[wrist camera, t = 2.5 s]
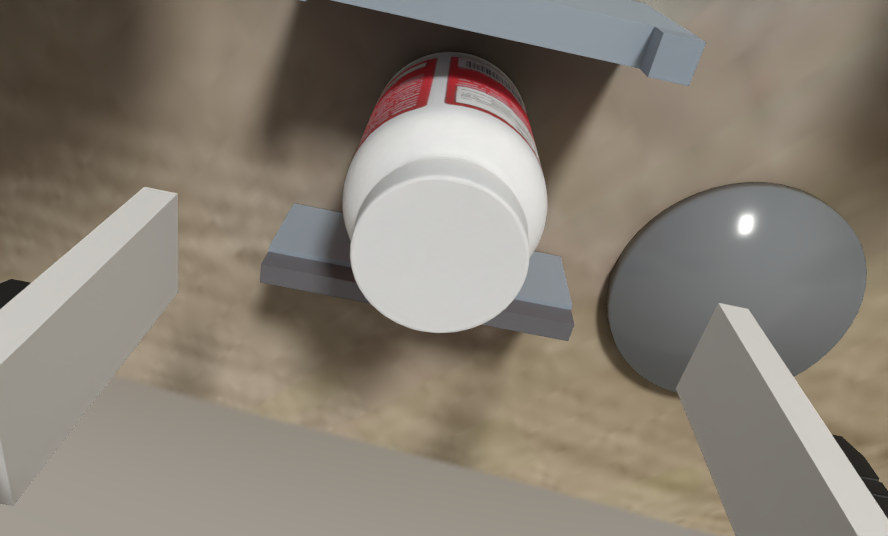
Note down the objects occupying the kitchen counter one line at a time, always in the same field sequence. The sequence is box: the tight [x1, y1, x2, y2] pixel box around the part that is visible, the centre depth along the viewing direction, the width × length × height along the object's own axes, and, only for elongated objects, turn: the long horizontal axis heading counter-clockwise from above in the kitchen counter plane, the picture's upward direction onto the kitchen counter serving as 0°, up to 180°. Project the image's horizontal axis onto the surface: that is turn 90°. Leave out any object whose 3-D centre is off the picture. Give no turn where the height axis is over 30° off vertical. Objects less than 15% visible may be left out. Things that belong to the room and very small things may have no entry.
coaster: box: [607, 182, 867, 393], centre depth 29 cm, size 11×11×1 cm
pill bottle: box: [343, 52, 547, 333], centre depth 21 cm, size 6×6×11 cm
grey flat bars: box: [260, 0, 706, 341], centre depth 23 cm, size 12×12×7 cm
